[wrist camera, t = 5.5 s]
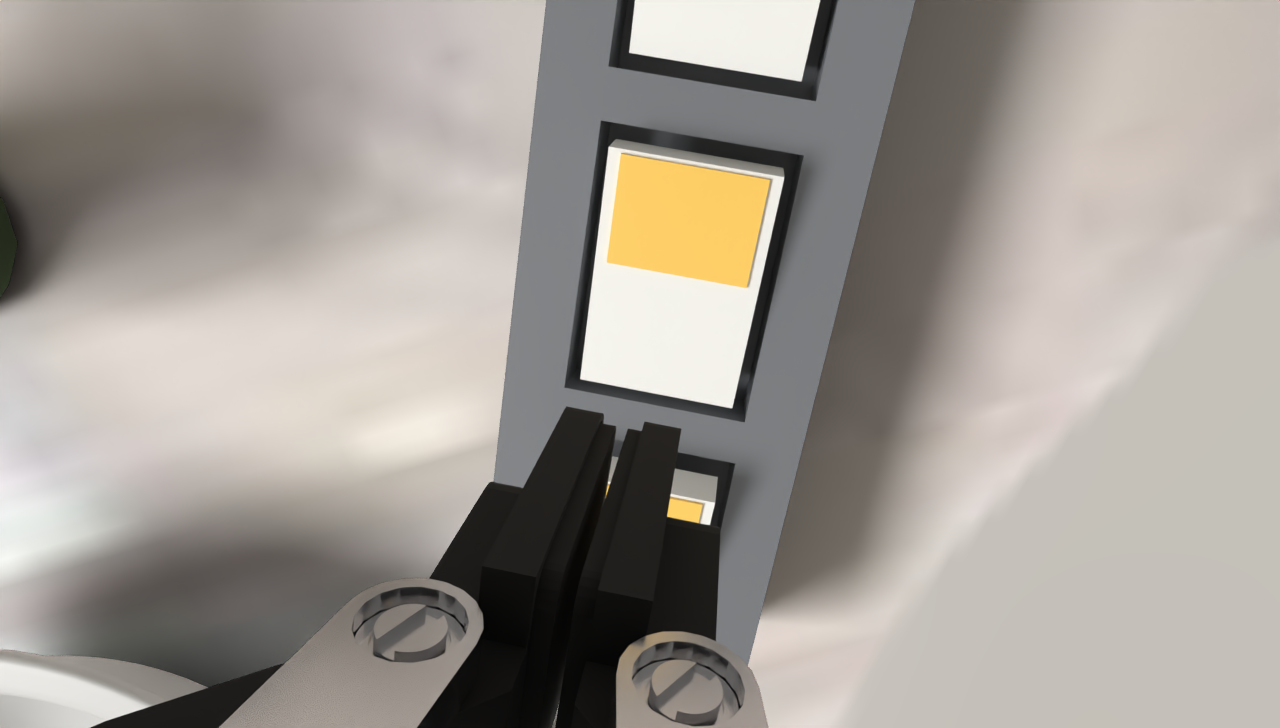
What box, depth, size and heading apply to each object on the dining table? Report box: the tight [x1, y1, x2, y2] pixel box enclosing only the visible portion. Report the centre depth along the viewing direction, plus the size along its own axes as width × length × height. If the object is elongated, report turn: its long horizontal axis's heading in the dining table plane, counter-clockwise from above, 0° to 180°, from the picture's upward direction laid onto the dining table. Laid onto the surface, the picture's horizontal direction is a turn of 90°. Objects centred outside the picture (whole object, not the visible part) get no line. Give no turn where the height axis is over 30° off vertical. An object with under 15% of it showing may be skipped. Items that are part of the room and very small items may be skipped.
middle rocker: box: [580, 139, 784, 408], centre depth 19 cm, size 6×4×1 cm, turn 171°
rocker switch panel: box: [494, 0, 915, 666], centre depth 21 cm, size 32×8×5 cm, turn 171°
